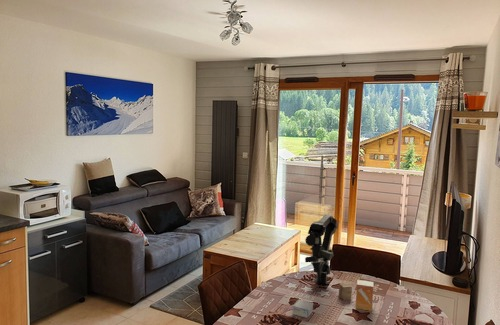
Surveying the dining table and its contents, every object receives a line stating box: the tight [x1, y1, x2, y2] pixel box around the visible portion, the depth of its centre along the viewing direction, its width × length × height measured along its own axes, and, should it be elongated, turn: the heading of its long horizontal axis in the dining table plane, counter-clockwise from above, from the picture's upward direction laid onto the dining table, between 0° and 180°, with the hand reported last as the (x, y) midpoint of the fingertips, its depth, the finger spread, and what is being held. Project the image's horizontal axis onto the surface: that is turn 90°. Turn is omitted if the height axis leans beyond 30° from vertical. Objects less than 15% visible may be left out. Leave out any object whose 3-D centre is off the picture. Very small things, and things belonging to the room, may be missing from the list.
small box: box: [355, 279, 375, 312], centre depth 199 cm, size 8×6×13 cm
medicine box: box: [292, 299, 314, 319], centre depth 192 cm, size 8×4×9 cm
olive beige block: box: [338, 282, 353, 301], centre depth 210 cm, size 5×5×7 cm
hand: (319, 275), depth 210 cm, fingers closed
